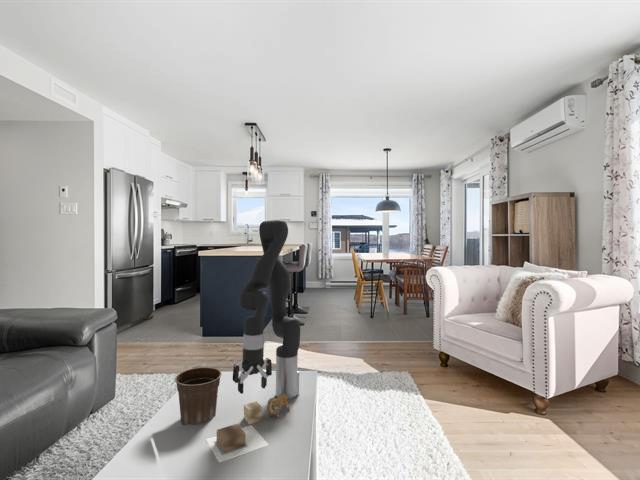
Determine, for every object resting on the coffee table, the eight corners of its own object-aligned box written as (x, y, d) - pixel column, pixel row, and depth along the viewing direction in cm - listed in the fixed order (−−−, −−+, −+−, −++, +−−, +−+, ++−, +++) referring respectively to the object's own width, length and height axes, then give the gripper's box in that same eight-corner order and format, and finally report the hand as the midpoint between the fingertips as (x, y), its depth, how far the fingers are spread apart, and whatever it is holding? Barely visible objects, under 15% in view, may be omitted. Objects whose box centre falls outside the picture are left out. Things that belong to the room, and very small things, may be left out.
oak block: (256, 417, 129) (256, 401, 129) (262, 423, 125) (262, 406, 125) (243, 421, 126) (243, 404, 126) (249, 427, 122) (249, 410, 122)
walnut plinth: (237, 435, 115) (237, 423, 115) (245, 446, 109) (245, 433, 109) (216, 442, 111) (216, 429, 111) (223, 453, 105) (223, 440, 105)
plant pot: (206, 433, 118) (207, 386, 118) (164, 427, 121) (165, 382, 121) (228, 410, 134) (229, 369, 134) (191, 406, 137) (191, 365, 137)
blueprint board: (251, 427, 121) (251, 424, 121) (268, 448, 110) (268, 444, 110) (205, 442, 112) (205, 439, 112) (219, 465, 101) (219, 462, 101)
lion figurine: (276, 427, 122) (277, 401, 122) (263, 424, 124) (263, 399, 124) (291, 407, 136) (292, 385, 136) (279, 406, 138) (279, 383, 138)
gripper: (266, 340, 133) (265, 382, 133) (230, 346, 125) (229, 390, 125) (275, 345, 126) (274, 389, 126) (238, 351, 119) (237, 398, 118)
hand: (252, 390), depth 125 cm, fingers open, 8 cm apart
